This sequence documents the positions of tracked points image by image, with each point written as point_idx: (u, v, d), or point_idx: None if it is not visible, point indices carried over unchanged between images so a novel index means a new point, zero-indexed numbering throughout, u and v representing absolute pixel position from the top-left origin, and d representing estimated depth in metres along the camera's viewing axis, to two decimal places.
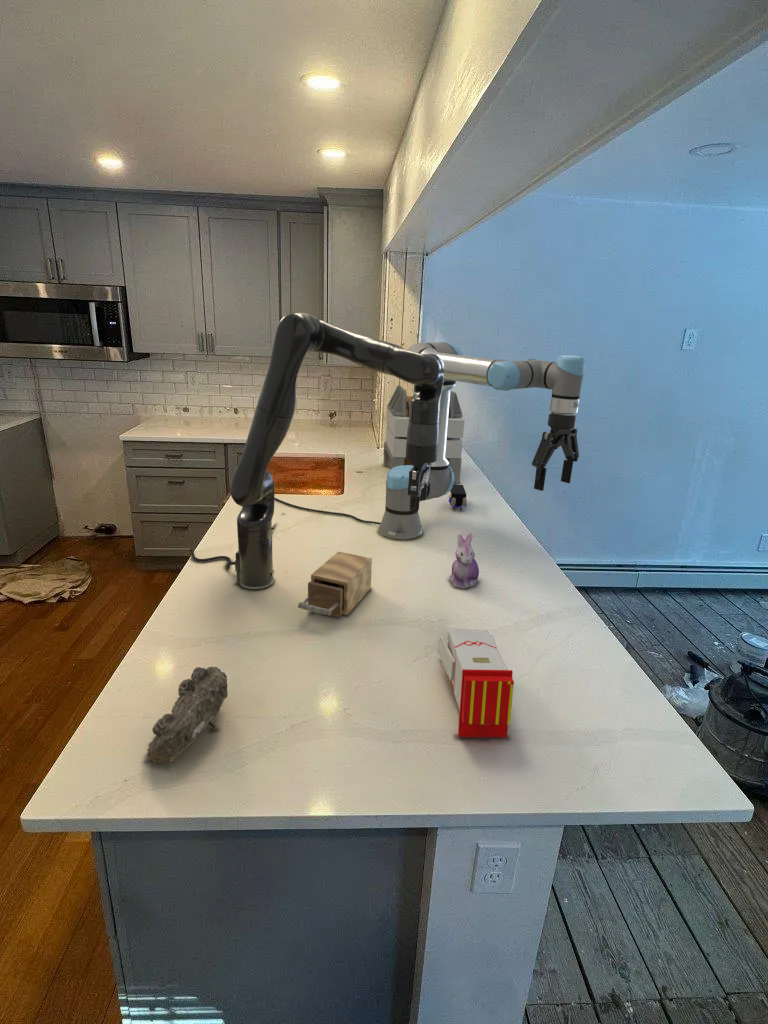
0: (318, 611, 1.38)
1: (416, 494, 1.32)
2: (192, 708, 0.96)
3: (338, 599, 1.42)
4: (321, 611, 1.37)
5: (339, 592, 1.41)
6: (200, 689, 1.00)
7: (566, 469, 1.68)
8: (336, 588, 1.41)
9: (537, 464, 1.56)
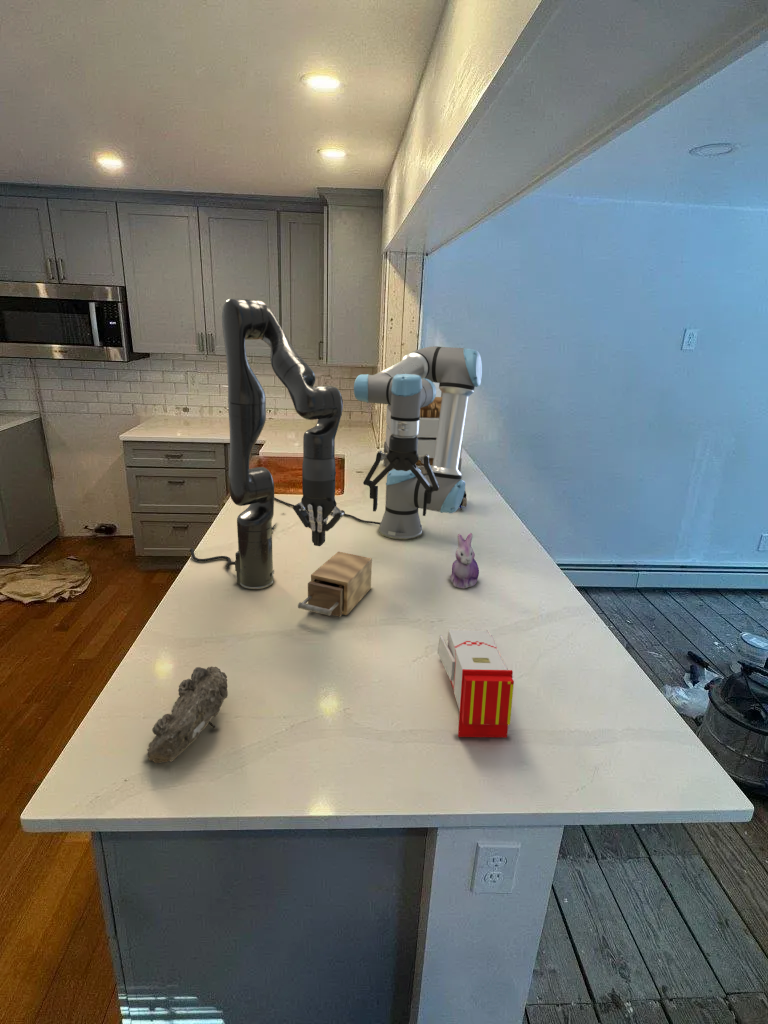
0: (318, 611, 1.38)
1: (332, 526, 1.33)
2: (192, 708, 0.96)
3: (338, 599, 1.42)
4: (321, 611, 1.37)
5: (339, 592, 1.41)
6: (200, 689, 1.00)
7: None
8: (336, 588, 1.41)
9: None
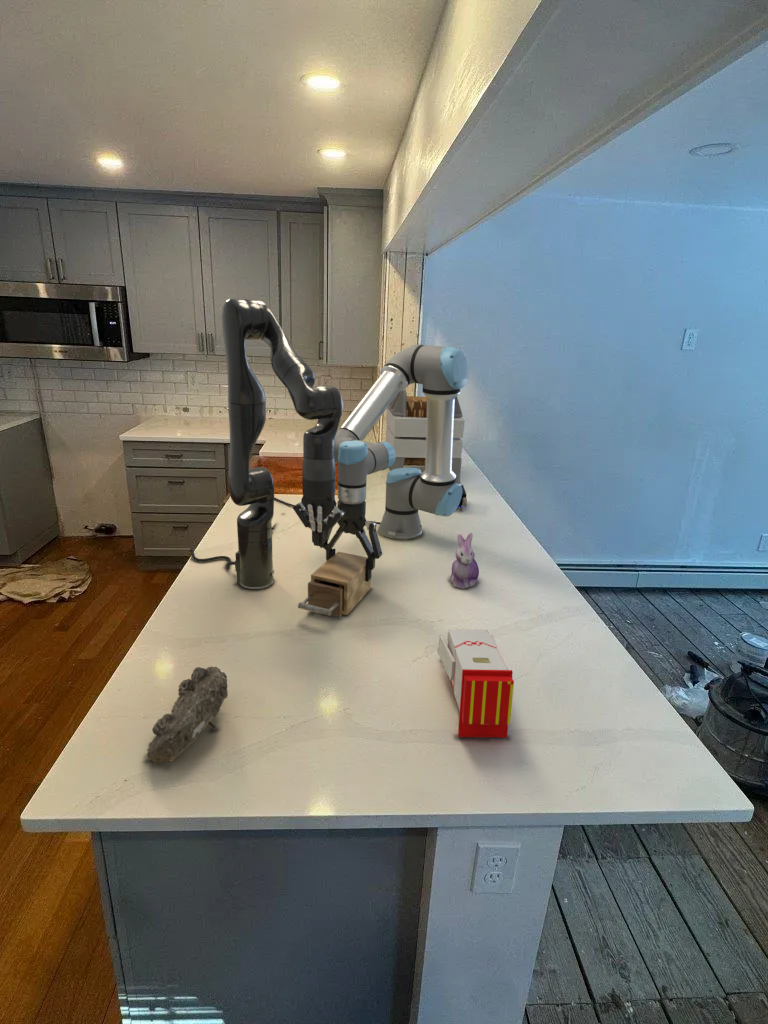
0: (318, 611, 1.38)
1: (332, 526, 1.33)
2: (192, 708, 0.96)
3: (338, 599, 1.42)
4: (321, 611, 1.37)
5: (339, 592, 1.41)
6: (200, 689, 1.00)
7: None
8: (336, 588, 1.41)
9: None
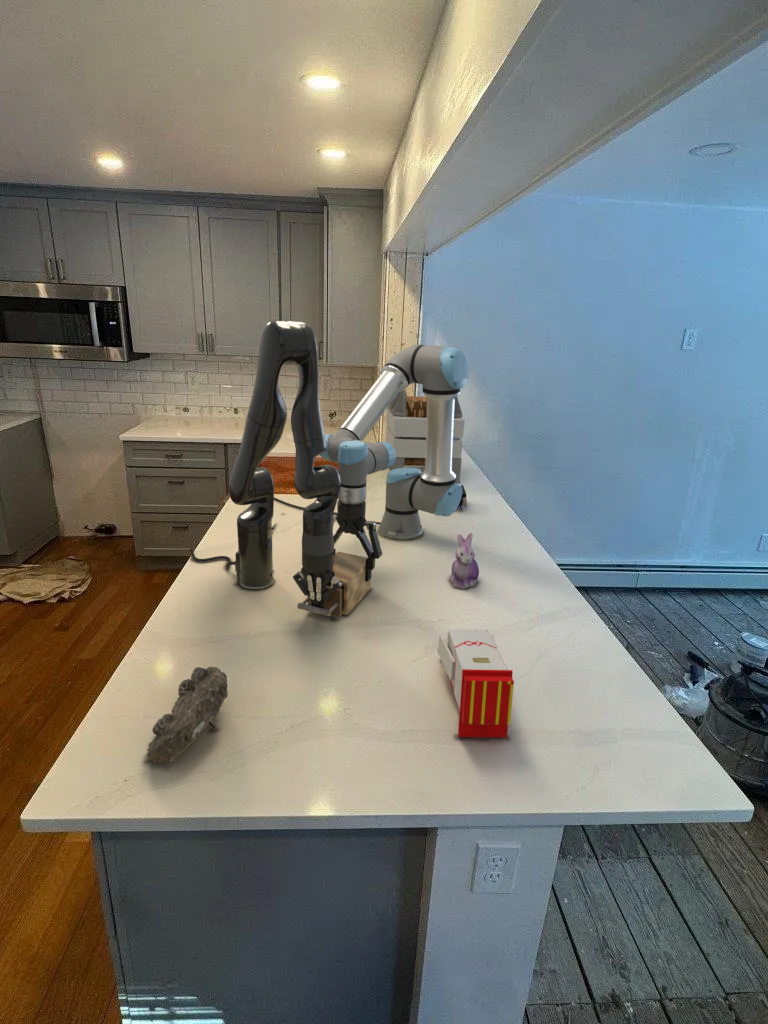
0: (318, 612, 1.38)
1: None
2: (192, 708, 0.96)
3: (337, 599, 1.41)
4: (320, 612, 1.37)
5: (339, 592, 1.41)
6: (200, 689, 1.00)
7: None
8: None
9: None
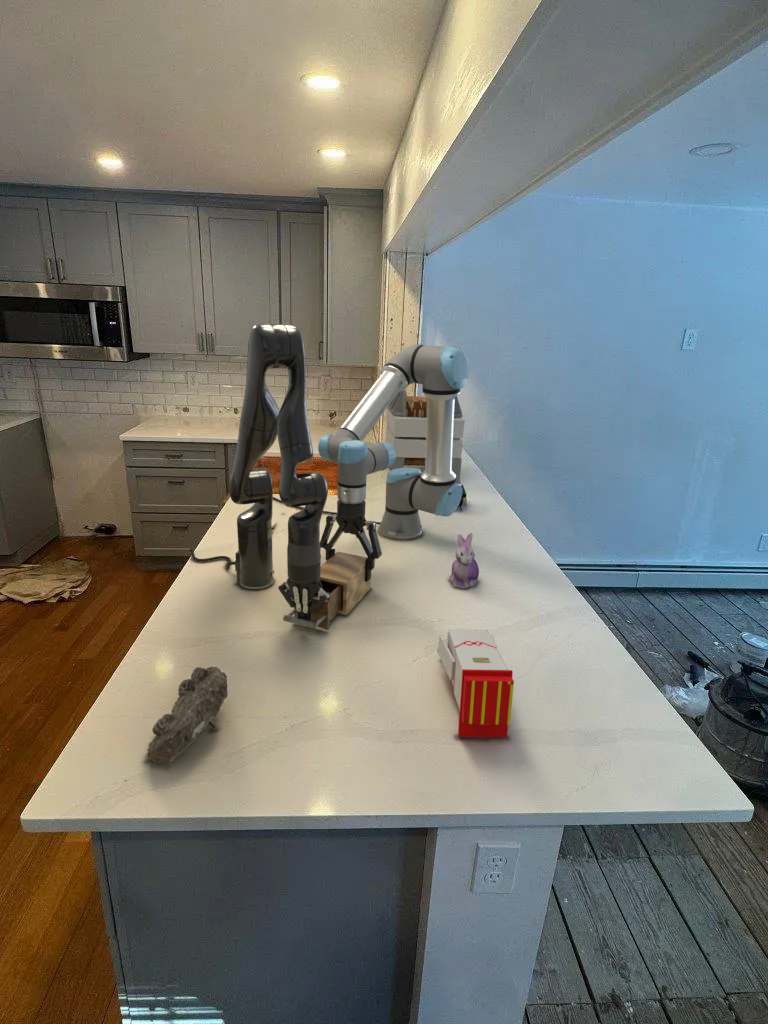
0: (304, 624, 1.32)
1: None
2: (192, 708, 0.96)
3: (325, 611, 1.36)
4: (307, 624, 1.31)
5: (326, 604, 1.35)
6: (200, 689, 1.00)
7: None
8: None
9: None
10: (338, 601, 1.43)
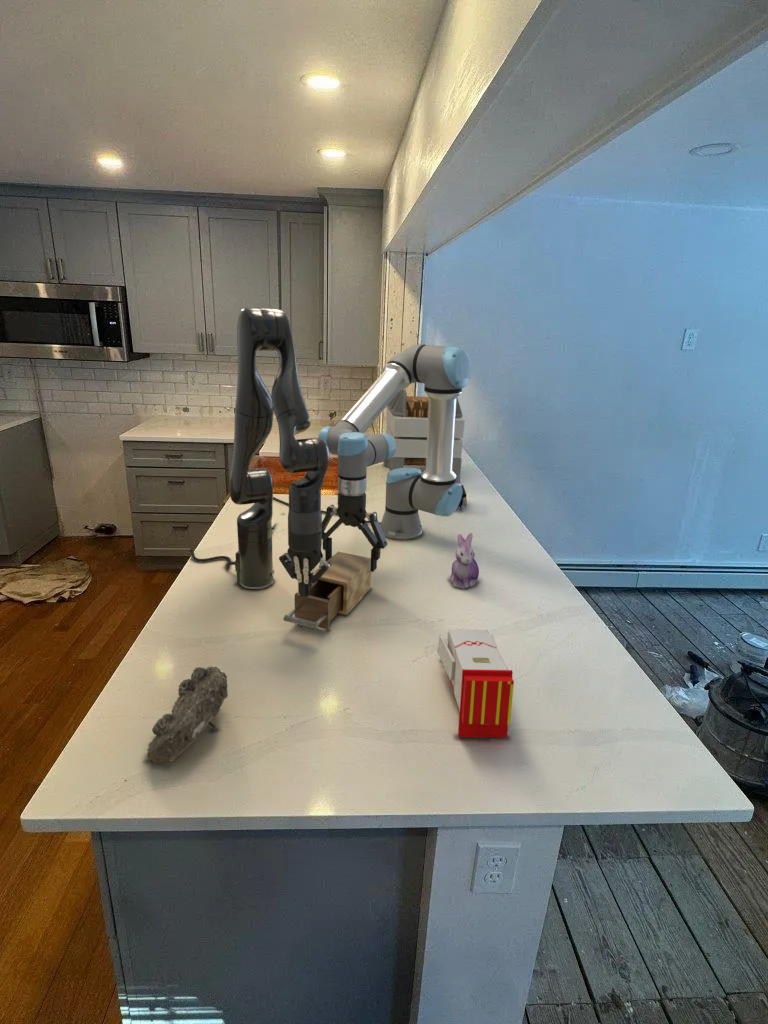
0: (304, 624, 1.32)
1: None
2: (192, 708, 0.96)
3: (326, 611, 1.36)
4: (308, 624, 1.32)
5: (327, 604, 1.35)
6: (200, 689, 1.00)
7: None
8: (324, 600, 1.36)
9: None
10: (339, 601, 1.43)
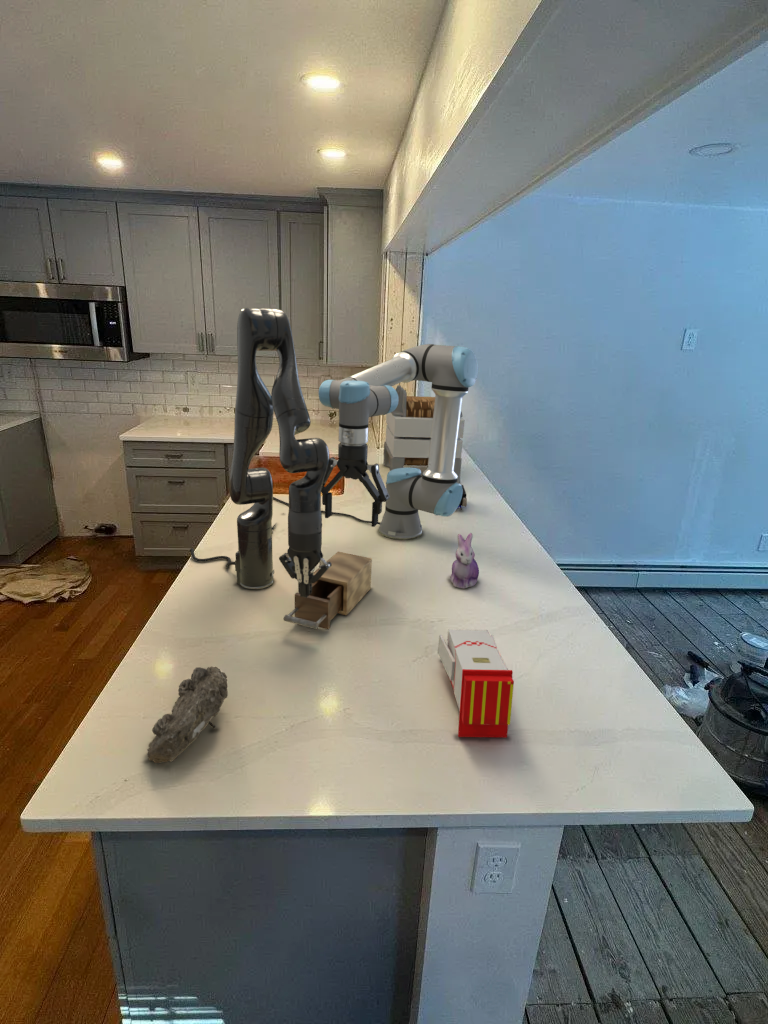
0: (304, 624, 1.32)
1: None
2: (192, 708, 0.96)
3: (326, 611, 1.36)
4: (308, 624, 1.32)
5: (327, 604, 1.35)
6: (200, 689, 1.00)
7: None
8: (324, 600, 1.36)
9: None
10: (339, 601, 1.43)
